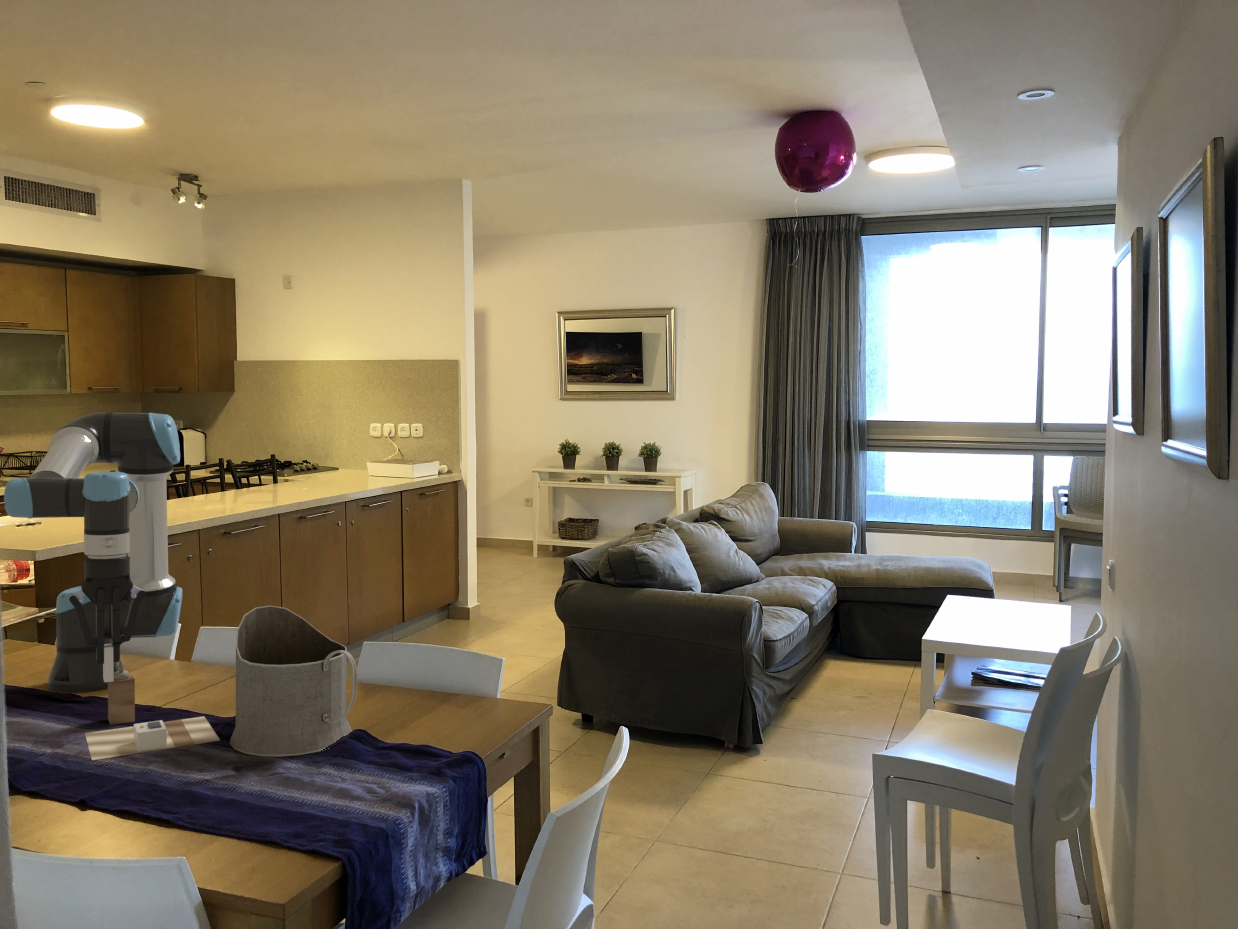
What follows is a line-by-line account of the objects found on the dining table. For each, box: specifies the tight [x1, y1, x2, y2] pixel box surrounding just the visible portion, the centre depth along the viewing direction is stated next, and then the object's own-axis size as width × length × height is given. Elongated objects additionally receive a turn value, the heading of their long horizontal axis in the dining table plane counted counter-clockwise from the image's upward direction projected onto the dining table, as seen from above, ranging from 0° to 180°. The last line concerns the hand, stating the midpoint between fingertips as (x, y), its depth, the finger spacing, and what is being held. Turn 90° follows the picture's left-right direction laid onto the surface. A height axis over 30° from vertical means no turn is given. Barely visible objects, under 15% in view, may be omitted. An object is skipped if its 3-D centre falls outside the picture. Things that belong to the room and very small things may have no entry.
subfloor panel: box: [84, 716, 221, 761], centre depth 189 cm, size 17×22×1 cm
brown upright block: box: [107, 659, 136, 726], centre depth 198 cm, size 4×4×14 cm
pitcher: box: [229, 605, 358, 757], centre depth 192 cm, size 23×32×25 cm
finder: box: [133, 719, 167, 751], centre depth 185 cm, size 6×5×4 cm
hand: (108, 679), depth 181 cm, fingers closed
